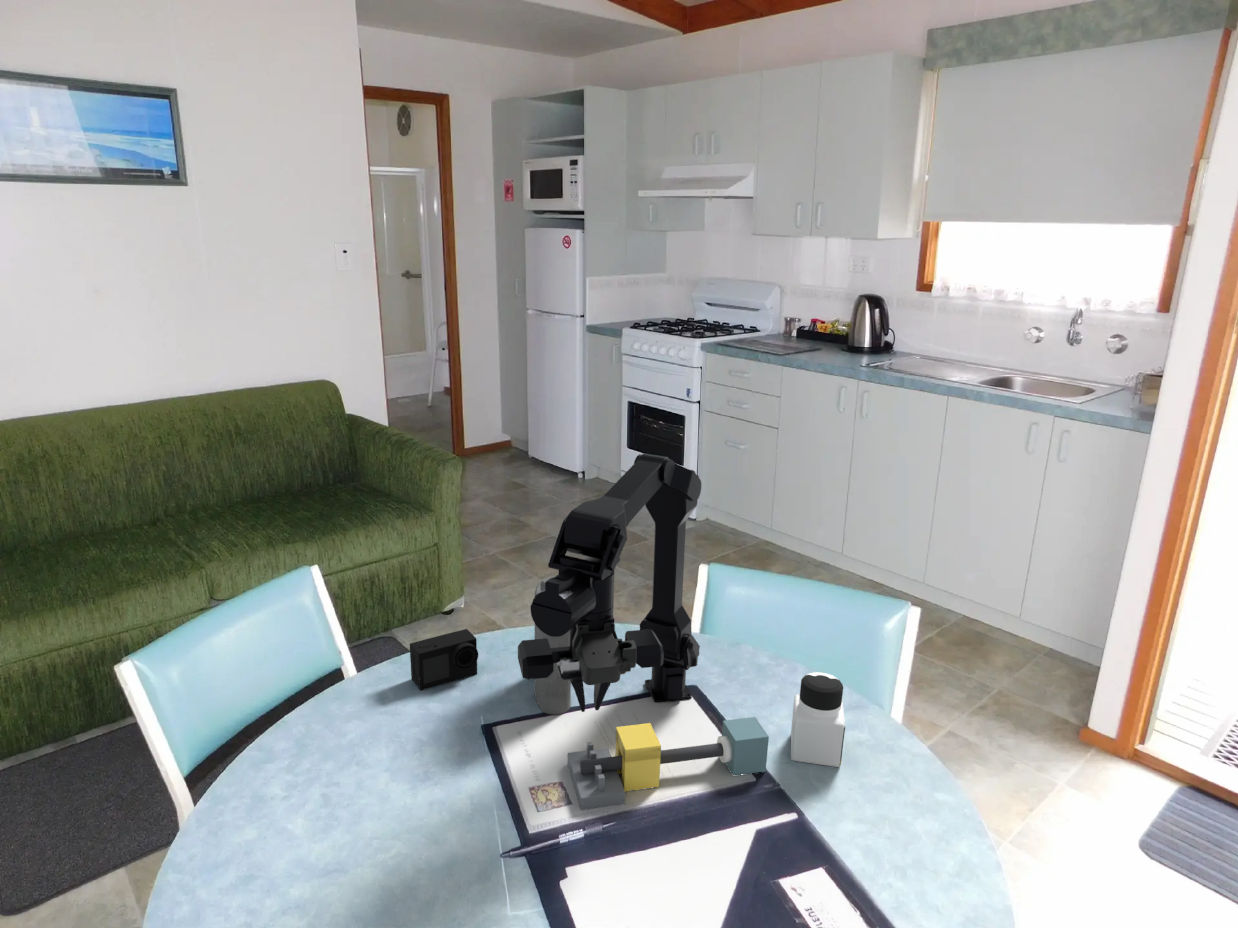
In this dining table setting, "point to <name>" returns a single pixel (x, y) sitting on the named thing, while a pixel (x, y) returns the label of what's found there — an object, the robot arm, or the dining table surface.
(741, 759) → the dark grey rod
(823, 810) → the dining table surface
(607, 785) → the grey pronged block
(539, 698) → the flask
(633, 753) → the sleeve
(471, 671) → the digital camera
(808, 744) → the medicine bottle
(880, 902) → the dining table surface
